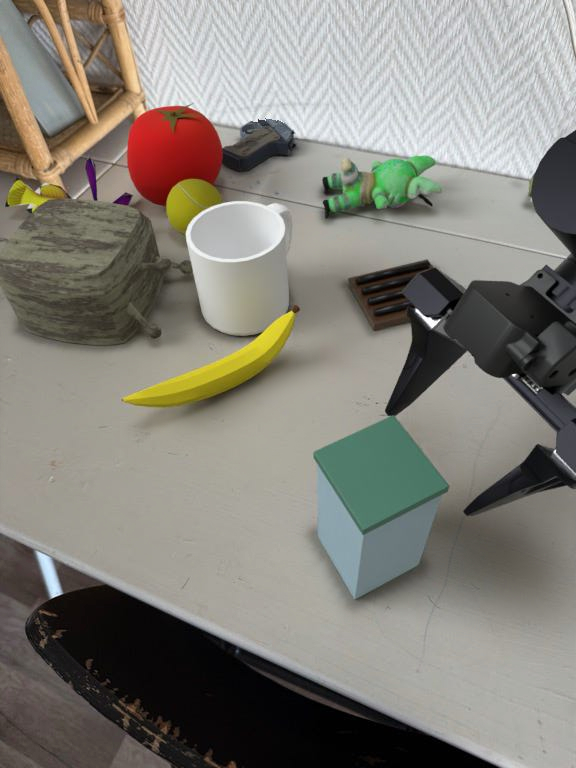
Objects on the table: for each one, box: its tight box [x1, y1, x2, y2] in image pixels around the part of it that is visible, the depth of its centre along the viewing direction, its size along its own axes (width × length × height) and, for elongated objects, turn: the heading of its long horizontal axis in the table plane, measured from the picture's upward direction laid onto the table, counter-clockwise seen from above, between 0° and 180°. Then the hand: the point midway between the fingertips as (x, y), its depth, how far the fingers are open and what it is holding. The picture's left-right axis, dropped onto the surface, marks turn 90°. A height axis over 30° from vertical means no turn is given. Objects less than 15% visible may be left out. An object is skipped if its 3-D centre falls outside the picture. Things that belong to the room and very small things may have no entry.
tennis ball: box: [165, 179, 224, 237], centre depth 74 cm, size 7×7×7 cm
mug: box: [185, 200, 293, 337], centre depth 64 cm, size 13×10×10 cm
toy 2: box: [321, 155, 443, 219], centre depth 77 cm, size 10×7×15 cm
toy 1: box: [4, 154, 134, 215], centre depth 76 cm, size 12×19×10 cm
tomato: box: [126, 102, 223, 207], centre depth 78 cm, size 12×14×11 cm
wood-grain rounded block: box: [0, 198, 193, 346], centre depth 66 cm, size 14×9×25 cm
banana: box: [121, 305, 301, 409], centre depth 58 cm, size 3×19×6 cm, turn 122°
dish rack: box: [347, 259, 434, 332], centre depth 67 cm, size 10×8×2 cm
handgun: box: [222, 118, 297, 172], centre depth 89 cm, size 2×14×12 cm
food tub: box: [312, 415, 450, 600], centre depth 44 cm, size 6×6×13 cm
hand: (425, 461), depth 41 cm, fingers open, 9 cm apart
